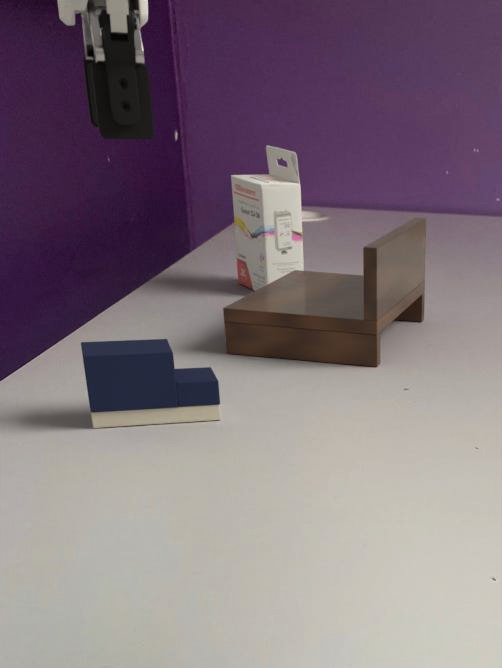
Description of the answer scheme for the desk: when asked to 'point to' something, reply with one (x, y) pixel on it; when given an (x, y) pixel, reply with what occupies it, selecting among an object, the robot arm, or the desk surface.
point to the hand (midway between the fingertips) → (121, 132)
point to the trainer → (145, 385)
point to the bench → (334, 305)
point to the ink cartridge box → (268, 221)
